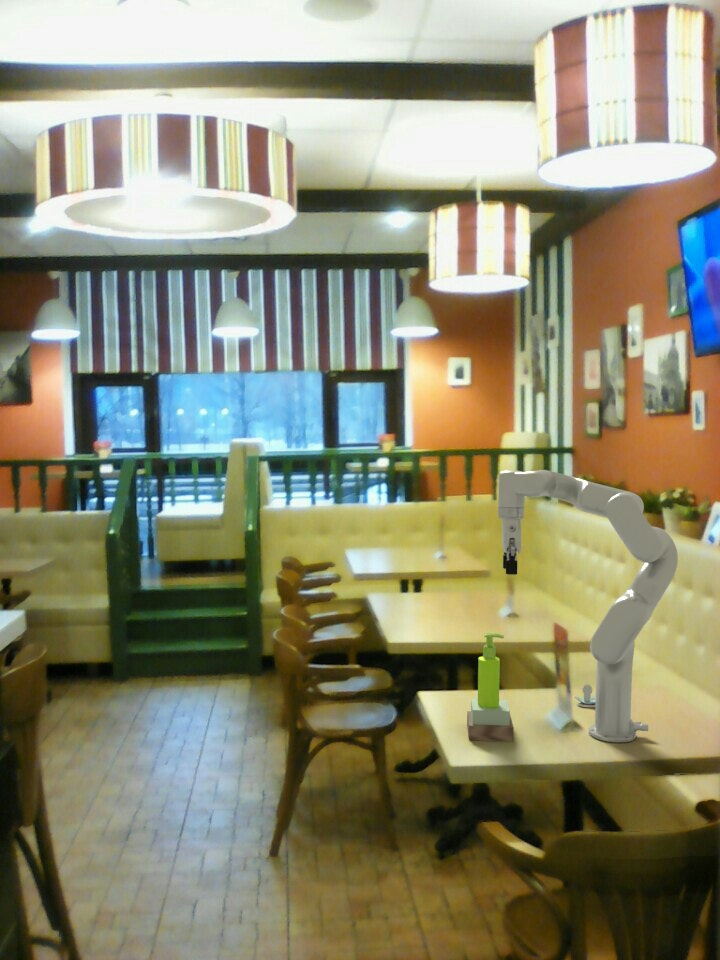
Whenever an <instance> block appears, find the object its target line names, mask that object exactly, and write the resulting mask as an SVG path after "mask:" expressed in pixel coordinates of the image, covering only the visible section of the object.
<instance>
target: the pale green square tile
mask: <svg viewBox="0 0 720 960" xmlns="http://www.w3.org/2000/svg"><path fill="white" fill-rule="evenodd" d="M470 701H471V702H470V711H471V716H472V723H473V724H474V725H501V726H510V716H511V712H510V707H509V704H508V700H507V699H499V706H498V707H496V708H484V707H480V706H479V705H478V698H471V700H470Z"/></svg>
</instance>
